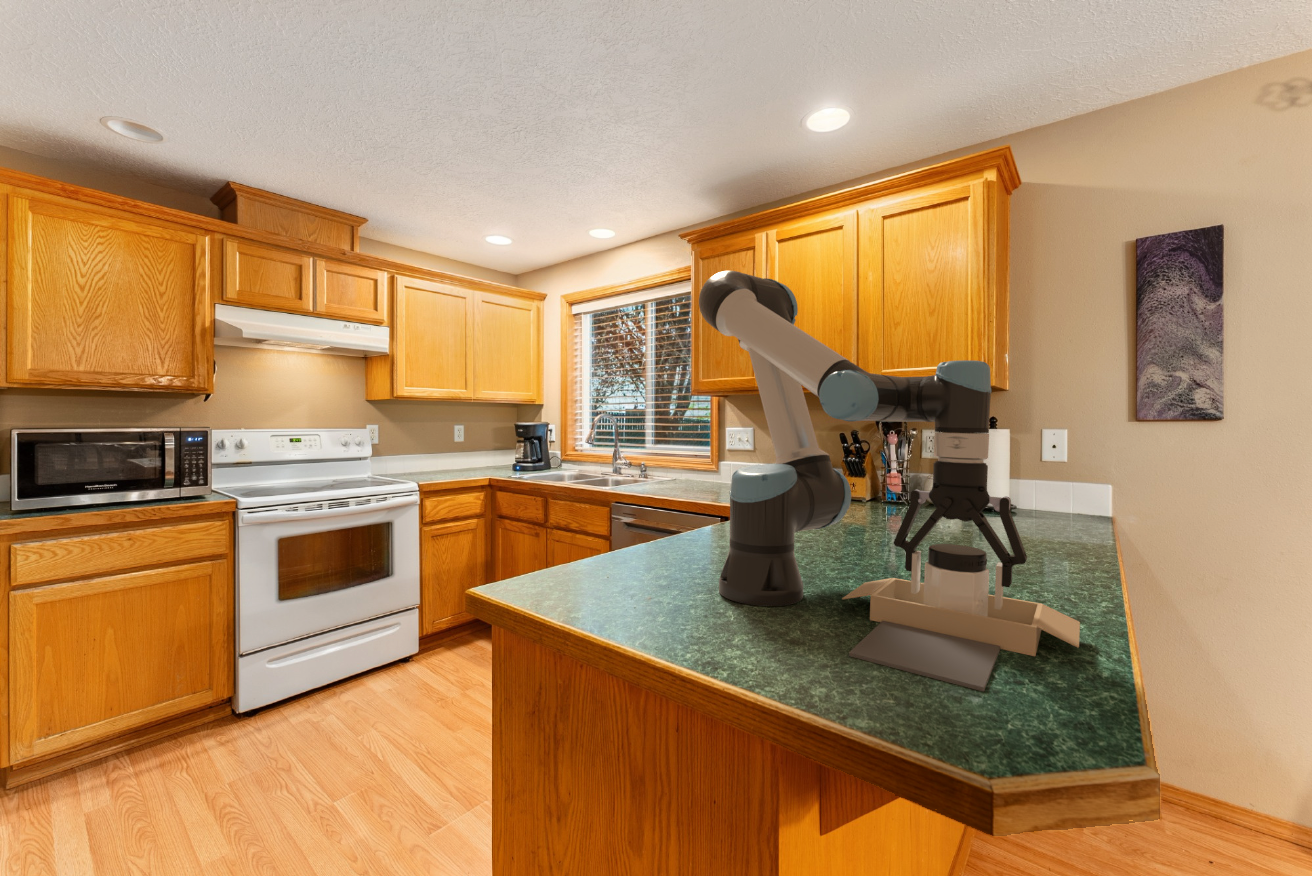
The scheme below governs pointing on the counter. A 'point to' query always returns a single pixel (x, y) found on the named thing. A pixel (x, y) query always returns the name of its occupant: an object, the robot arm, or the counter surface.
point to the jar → (957, 579)
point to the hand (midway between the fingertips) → (955, 599)
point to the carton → (969, 617)
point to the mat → (929, 654)
